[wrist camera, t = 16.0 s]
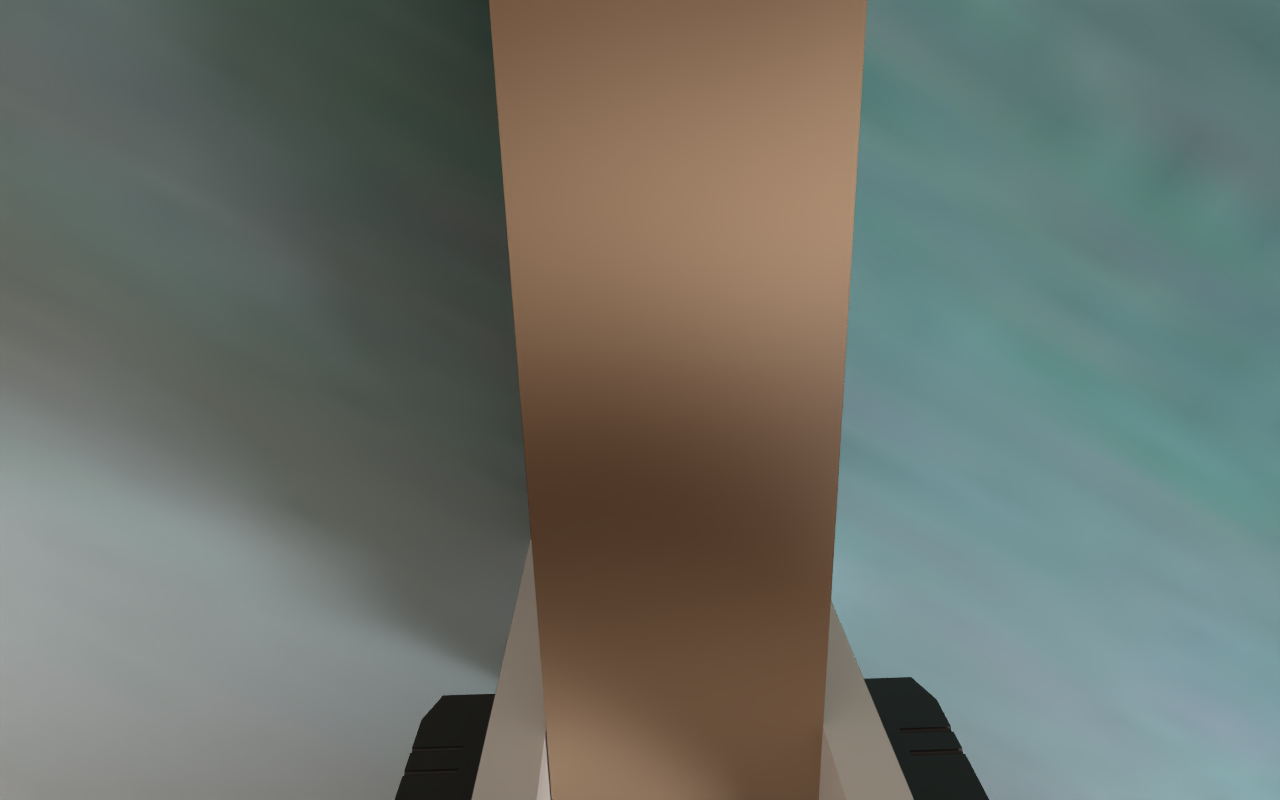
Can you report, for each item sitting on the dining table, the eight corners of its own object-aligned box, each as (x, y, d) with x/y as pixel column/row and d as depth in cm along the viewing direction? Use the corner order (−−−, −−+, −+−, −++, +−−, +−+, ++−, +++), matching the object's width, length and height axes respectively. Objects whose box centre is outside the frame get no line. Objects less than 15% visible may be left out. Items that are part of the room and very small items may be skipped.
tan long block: (818, 710, 16) (896, 950, 12) (518, 719, 16) (477, 965, 12) (869, -185, 11) (1044, -394, 7) (437, -174, 11) (304, -377, 7)
